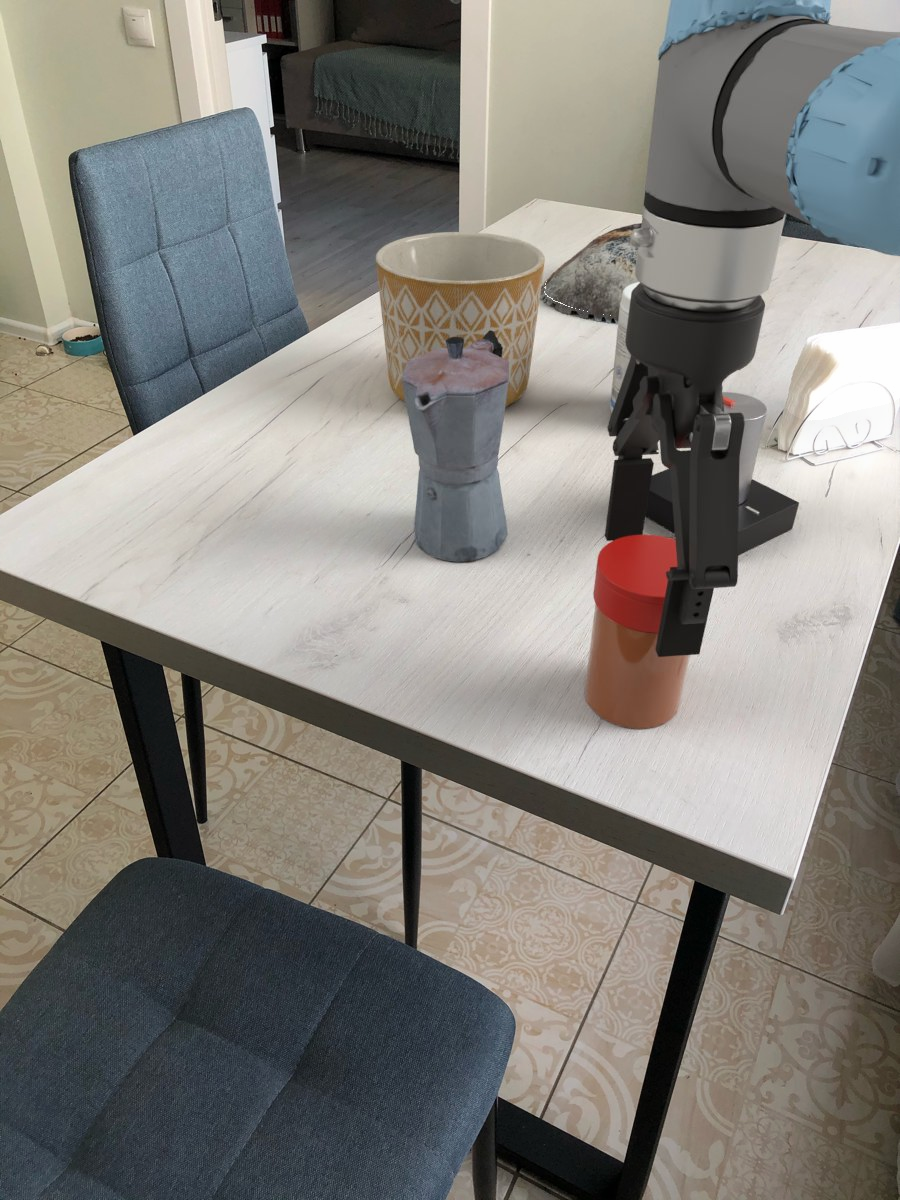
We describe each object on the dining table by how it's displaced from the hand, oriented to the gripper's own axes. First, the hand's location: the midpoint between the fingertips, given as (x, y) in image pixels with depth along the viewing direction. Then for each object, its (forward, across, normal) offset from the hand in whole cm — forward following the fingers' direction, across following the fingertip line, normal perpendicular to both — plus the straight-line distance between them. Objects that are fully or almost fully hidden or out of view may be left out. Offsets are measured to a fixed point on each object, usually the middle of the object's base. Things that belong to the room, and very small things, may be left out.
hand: (647, 590), depth 66 cm
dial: (+7, -24, +15) cm, 29 cm away
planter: (+10, -57, -6) cm, 58 cm away
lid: (-2, 0, 0) cm, 2 cm away
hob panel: (+10, -24, +15) cm, 30 cm away
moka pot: (+10, -24, -10) cm, 28 cm away
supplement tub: (+10, -48, +15) cm, 51 cm away
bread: (+11, -90, +26) cm, 94 cm away
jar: (+10, 0, 0) cm, 10 cm away
